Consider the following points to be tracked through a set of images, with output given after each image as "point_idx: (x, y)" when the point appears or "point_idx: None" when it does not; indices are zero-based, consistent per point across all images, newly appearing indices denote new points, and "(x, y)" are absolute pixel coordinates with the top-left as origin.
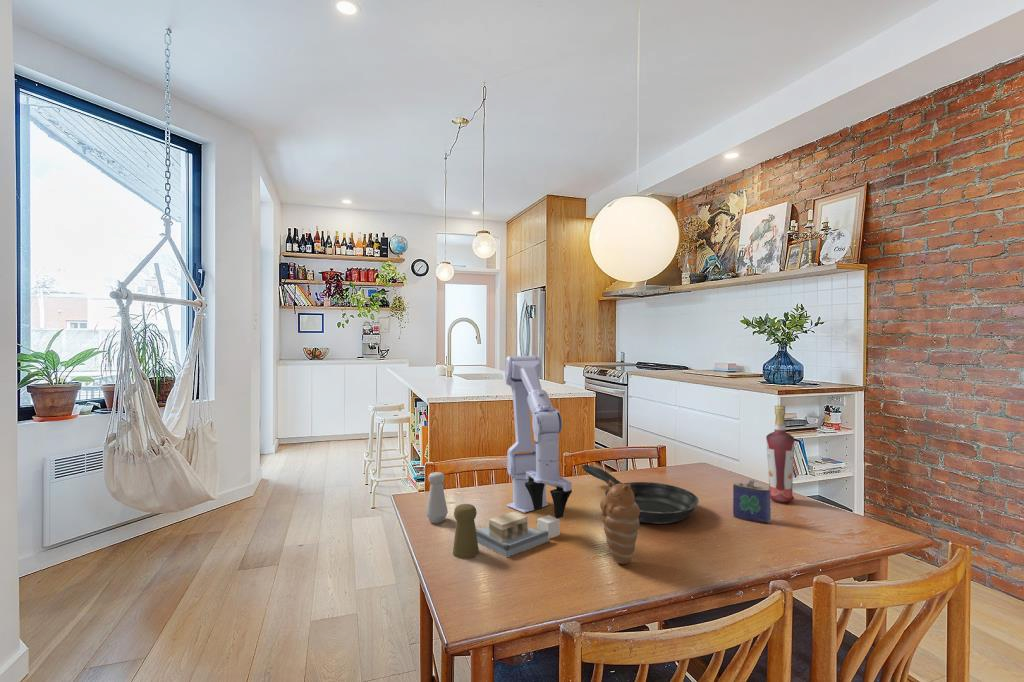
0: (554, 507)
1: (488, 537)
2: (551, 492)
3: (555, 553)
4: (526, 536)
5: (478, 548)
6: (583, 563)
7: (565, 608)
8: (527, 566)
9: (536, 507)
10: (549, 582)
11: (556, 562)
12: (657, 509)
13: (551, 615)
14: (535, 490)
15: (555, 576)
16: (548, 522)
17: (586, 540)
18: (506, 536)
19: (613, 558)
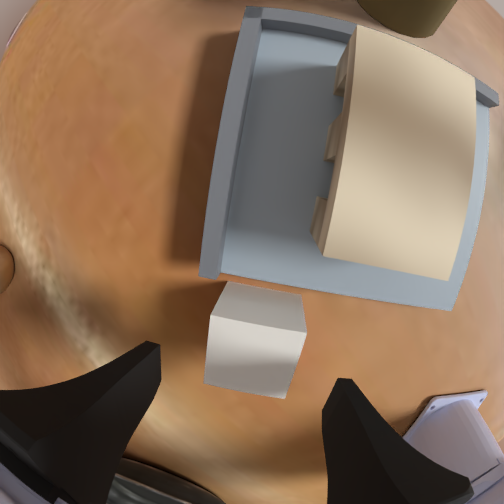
0: (118, 374)
1: (390, 35)
2: (18, 431)
3: (123, 186)
4: (284, 188)
5: (376, 9)
6: (42, 194)
7: (22, 34)
8: (146, 42)
9: (338, 393)
10: (62, 48)
11: (88, 134)
12: (156, 494)
13: (36, 7)
14: (363, 490)
15: (60, 77)
16: (218, 327)
17: (124, 343)
18: (337, 82)
19: (3, 248)
